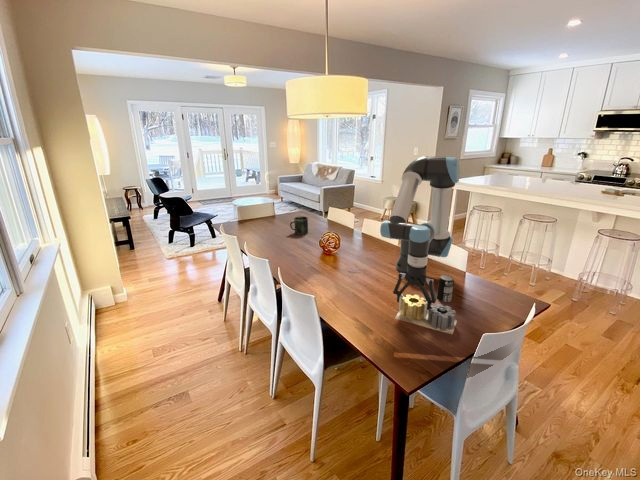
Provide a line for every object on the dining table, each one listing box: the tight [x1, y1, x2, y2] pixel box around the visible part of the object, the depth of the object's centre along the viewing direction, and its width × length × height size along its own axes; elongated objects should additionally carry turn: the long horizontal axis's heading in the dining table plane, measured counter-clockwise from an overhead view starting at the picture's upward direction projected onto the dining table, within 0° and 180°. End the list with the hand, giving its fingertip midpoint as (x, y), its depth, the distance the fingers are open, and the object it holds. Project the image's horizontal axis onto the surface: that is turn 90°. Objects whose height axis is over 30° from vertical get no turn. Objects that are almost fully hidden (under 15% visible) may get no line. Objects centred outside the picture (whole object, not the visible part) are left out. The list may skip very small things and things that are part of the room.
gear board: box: [394, 310, 458, 335], centre depth 132 cm, size 11×23×5 cm, turn 60°
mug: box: [289, 215, 309, 235], centre depth 248 cm, size 11×15×12 cm
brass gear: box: [400, 294, 426, 319], centre depth 134 cm, size 10×10×6 cm
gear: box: [427, 303, 457, 332], centre depth 129 cm, size 10×10×7 cm
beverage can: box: [436, 274, 455, 303], centre depth 147 cm, size 7×7×12 cm
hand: (412, 312), depth 135 cm, fingers closed on brass gear, 10 cm apart
